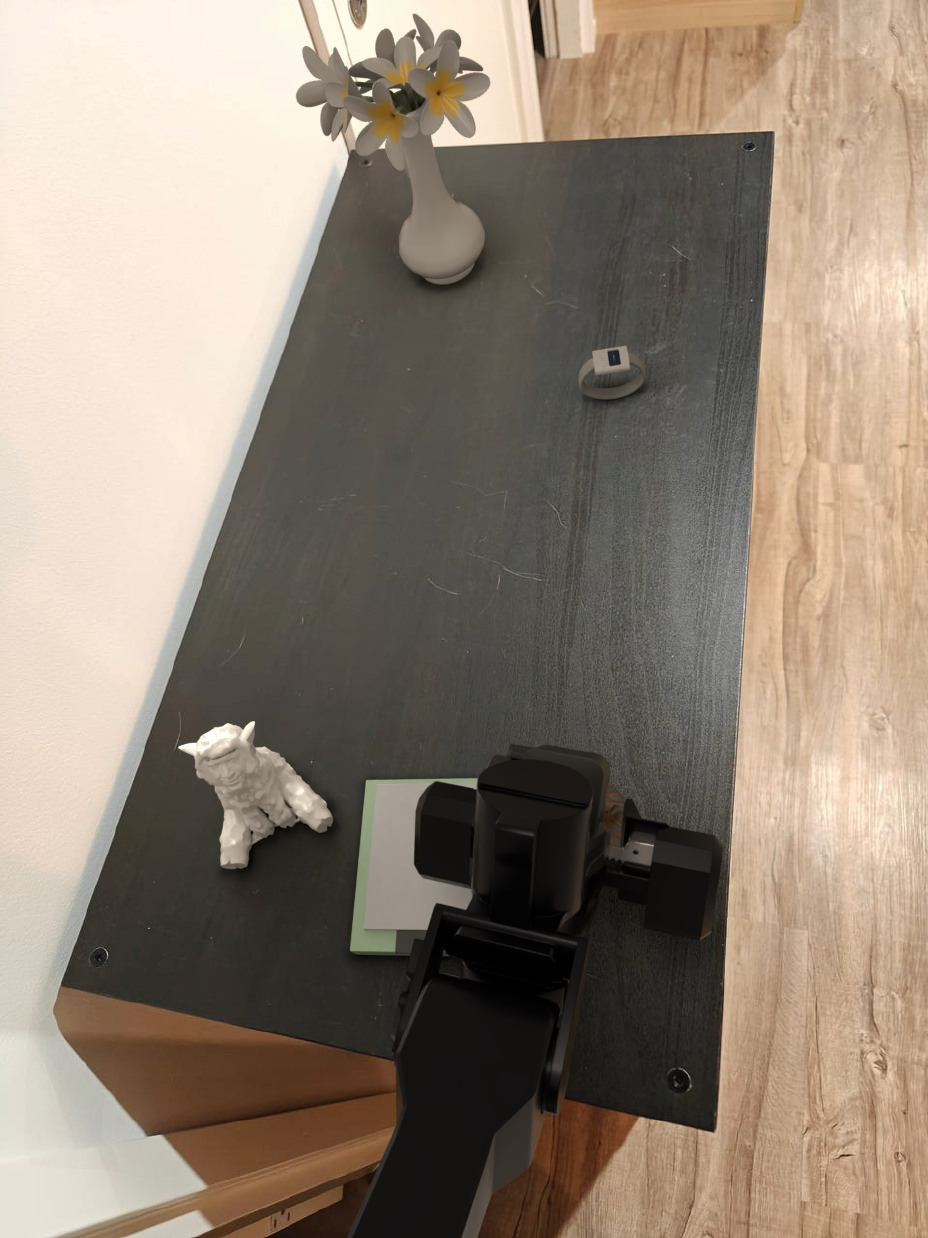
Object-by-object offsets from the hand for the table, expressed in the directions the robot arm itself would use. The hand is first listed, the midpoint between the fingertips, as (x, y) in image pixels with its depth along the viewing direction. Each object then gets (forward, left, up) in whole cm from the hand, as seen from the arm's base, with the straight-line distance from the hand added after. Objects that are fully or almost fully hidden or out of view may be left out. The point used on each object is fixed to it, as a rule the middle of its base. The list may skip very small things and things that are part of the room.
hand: (587, 796), depth 66 cm
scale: (-3, +11, -7) cm, 14 cm away
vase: (-1, 0, -7) cm, 7 cm away
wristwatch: (+42, -3, -7) cm, 42 cm away
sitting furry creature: (+2, +26, -7) cm, 27 cm away
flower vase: (+62, +15, -7) cm, 64 cm away
